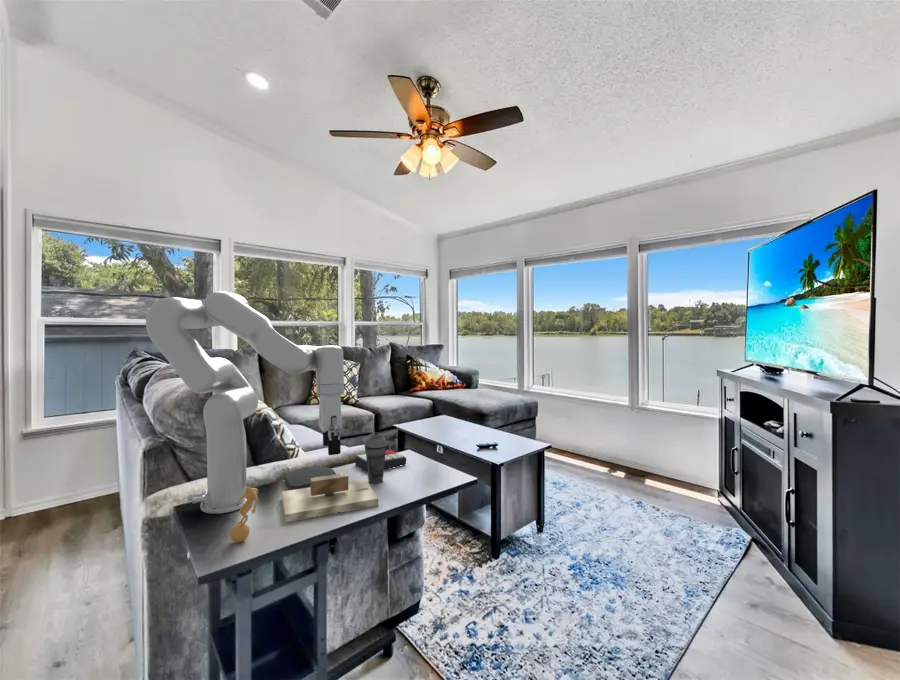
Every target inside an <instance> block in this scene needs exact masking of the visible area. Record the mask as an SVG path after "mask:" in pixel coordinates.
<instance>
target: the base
mask: <svg viewBox="0 0 900 680" xmlns="http://www.w3.org/2000/svg"><path fill="white" fill-rule="evenodd" d="M281 500H282V501H281V502H282V507H283V508H284V509H283V508H282V509H283V516H285V517H284V522H285V523H289V522H290V521H291V522H295V521H300V520H305V519H306V518H307V519H312V518H311V517H313V518H317V517H316V516H318V517H321V516H320V515H323V516H327V515H326V514H329V515H333V514H332V513H334V514H338V513H337V512H340V513H344V512H343V511H345V512H349V511H348V510H351V511H354V510H353V509H356V510H360V508H362V509H366V508H365V507H367V508H372V507H377V506H379V497H378V495H377V494H376V493H375V492H374V490H373V488H372V487H371V485H370V483H369V482H368V481H367V480H366V479H365V478H364V479H363V478H362V479H356V480H351V481H350V480H348V490H347V491H341V492H334V495H332V496H325V494H322V495H316V496H311V493H310V487H309V488H302V489H296V490H289V489H288V490H284V491H282V492H281Z"/></svg>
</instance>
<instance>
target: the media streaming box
mask: <svg viewBox="0 0 900 680" xmlns="http://www.w3.org/2000/svg"><path fill="white" fill-rule="evenodd" d="M335 474H337V473H336V471H335V470H334V469H333V468H331V467H327V466H312V467H311V466H310V467H304V468H299V469H295V470H291V471H290V472H287V473H286V474H285V475H284V483H285V486H286V487H287V489H288V491H289V490H296V489H302V488H309V487H310V478H314V477H321V476H328V475H335Z"/></svg>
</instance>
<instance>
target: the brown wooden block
mask: <svg viewBox="0 0 900 680" xmlns="http://www.w3.org/2000/svg"><path fill="white" fill-rule="evenodd" d="M348 482H349V475H348V473H347V472H341V473H338V474H337V473H336V474H335V475H328V476H321V477H314V478H310V493H311V496H316V495H322V494H325V496H332V495H334V492H341V491H347V490H348Z"/></svg>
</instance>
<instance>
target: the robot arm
mask: <svg viewBox="0 0 900 680" xmlns="http://www.w3.org/2000/svg"><path fill="white" fill-rule="evenodd" d="M219 326H222V327H223V328H224V329H226V330H228V331H229V332H230V333H232V334H234V335H236V336H237V337H238V338H239V339H241V340H243V341H244V342H245V343H247V344H248V345H250V347H251V348H252V349H253V350H254V351H255V352H256V353H257V354H258V355H259V356H260V357H261V358H262V359H265V360H266V361H268V362H269V363H270V364H272V365H274V366H275V367H276V368H278V369H280V370H281V371H283V372H285V373H287V374H290V375H299V374H302V373H306V372H309V371H315V386H316V387H315V389H316V391H315V392H316V394H315V396H317V397H319V399H318V401H319V402H318V403H319V404H318V407H319V408H318V414H319V415H318V426H319V428H320V431H322V445H323V447H327V449H328V450H327V452H328V453H327V455H328V456H336V455H340V454H341V450H342V449H341V436H340V431H341V429H342V401H341V399H342V398H341V396H343V395H345V376H344V375H345V372H344V369H345V368H344V350H343V348H342V347H341V346H340V345H321V346H318V345H317V346H315V345H310V344H302V345H297V344H295V343H293V341H290V340H289V339H287V338H286V337H285V336H283V335H281V334H280V333H279V332H277V330H275V328H274V327H273V326H272V323H271V320H270V319H269V318H268V317H267V316H265V315H264V314H262V313H261V312H259V311H257V310H256V309H254V307H253V308H252V307H251V306H250V303H249V302H248V301H247V299H246V298H245V297H243V296H242V295H240V294H237V293H233V292H229V291H215V292H212V293H210V294H208V295H207V296H206V298H203V299H190V298H184V297H175V296H173V297H172V296H171V297H164V298H160V299H158V300H157V301H155V302H154V303H153V304H152V305H151V306H149V309H148V310H147V313H146V317H145V328H146V332H147V335H148V337H149V338H150V340H151V342H152V344H153V345H154V346H155V347H156V349H158V351H159V352H160V353H161V354H162V355H163V357H164V358H165V359H166V360H167V361H168V363H169V365H170V367H172V368H173V370H174V372H175V373H176V374H177V375H178V376H179V377H180V379H181V380H182V381H183V383H184V384H185V385H186V386H187V388H188V389H189V390H190V391H192V392H193V393H195V394H207V393H211V392H212V393H214V394H213V395H211V396H210V397H209V398H208V399H207V400H206V402H205V403H204V407H203V410H202V411H203V412H202V413H203V415H202V417H203V422H204V426H205V432H206V455H207V456H206V461H207V462H206V473H207V475H206V477H207V482H206V484H207V487H206V490H201V492H198V493H197V492H195V493H188V495H187V501H188V502H191V503H192V504H197V503H200V511H201V512H204V513H206V514H212V515H214V514H216V515H217V514H219V515H220V514H226V513H231V512H235V511H238V510H240V509H241V508H242V506H243V505H244V503H245V502H246V496H245V497H244V498H243V499H242V500H241V501H240V502H239V500H240V499H241V497H242V496H243V495H244V494H245V491H246V488H247V435H246V434H247V433H246V428H245V426H244V425H245V424H244V419H246V418H248V417H250V416H251V415H252V414H254V413H255V412H256V410H257V408H258V407H259V398H258V395H257V392H255V390H254V388H253V387H252V385H251V384H250V383H249V381H247V379H246V377H245V376H244V375H243V374H242V372H241V371H240V369H239V368H238V367H237V366H236V365H235V364H234V363H233V362H231V361H230V360H228V359H227V358H225V357H224V358H223V357H217V356H216V357H211V356H210V355H208V353H207V352H206V351H205V350H204V348H203V347H202V345H201V344H200V342H199V341H198V340H196V339H195V338H194V337H193V336H192V335H190V334H189V333H188V331H186V330H196V329H197V330H198V329H199V330H200V329H205V328H212V327H219ZM238 502H239V503H238Z"/></svg>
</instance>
